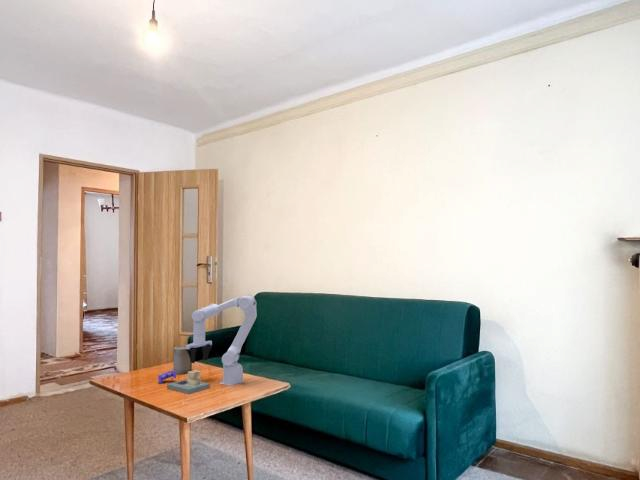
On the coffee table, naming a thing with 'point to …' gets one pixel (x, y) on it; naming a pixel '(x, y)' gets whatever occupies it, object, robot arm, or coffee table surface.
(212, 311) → the robot arm
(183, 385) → the pocket board
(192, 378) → the birch block
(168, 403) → the coffee table surface
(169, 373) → the game controller
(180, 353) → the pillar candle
